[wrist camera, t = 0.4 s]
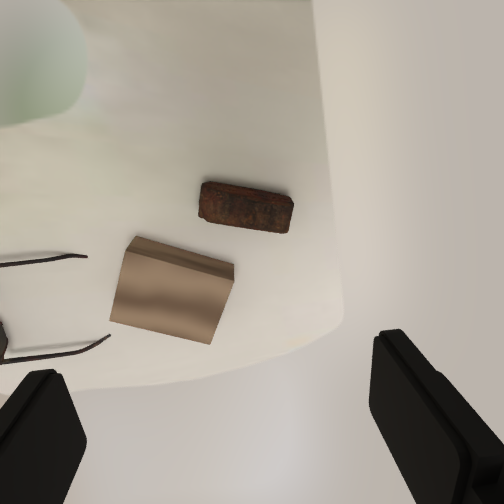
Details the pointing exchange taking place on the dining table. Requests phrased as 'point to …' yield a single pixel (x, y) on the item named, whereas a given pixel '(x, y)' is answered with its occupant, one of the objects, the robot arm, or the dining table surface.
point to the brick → (245, 207)
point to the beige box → (171, 290)
